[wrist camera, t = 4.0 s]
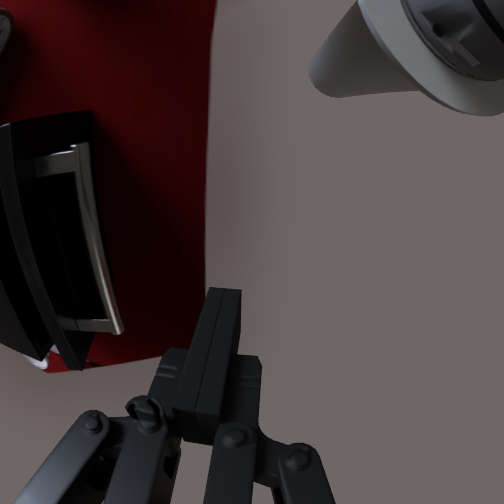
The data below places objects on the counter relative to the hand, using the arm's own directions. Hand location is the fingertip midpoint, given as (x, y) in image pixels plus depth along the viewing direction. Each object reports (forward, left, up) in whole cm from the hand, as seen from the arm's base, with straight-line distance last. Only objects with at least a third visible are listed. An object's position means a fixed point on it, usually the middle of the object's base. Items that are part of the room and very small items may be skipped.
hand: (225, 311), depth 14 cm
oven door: (+15, 0, -14) cm, 21 cm away
